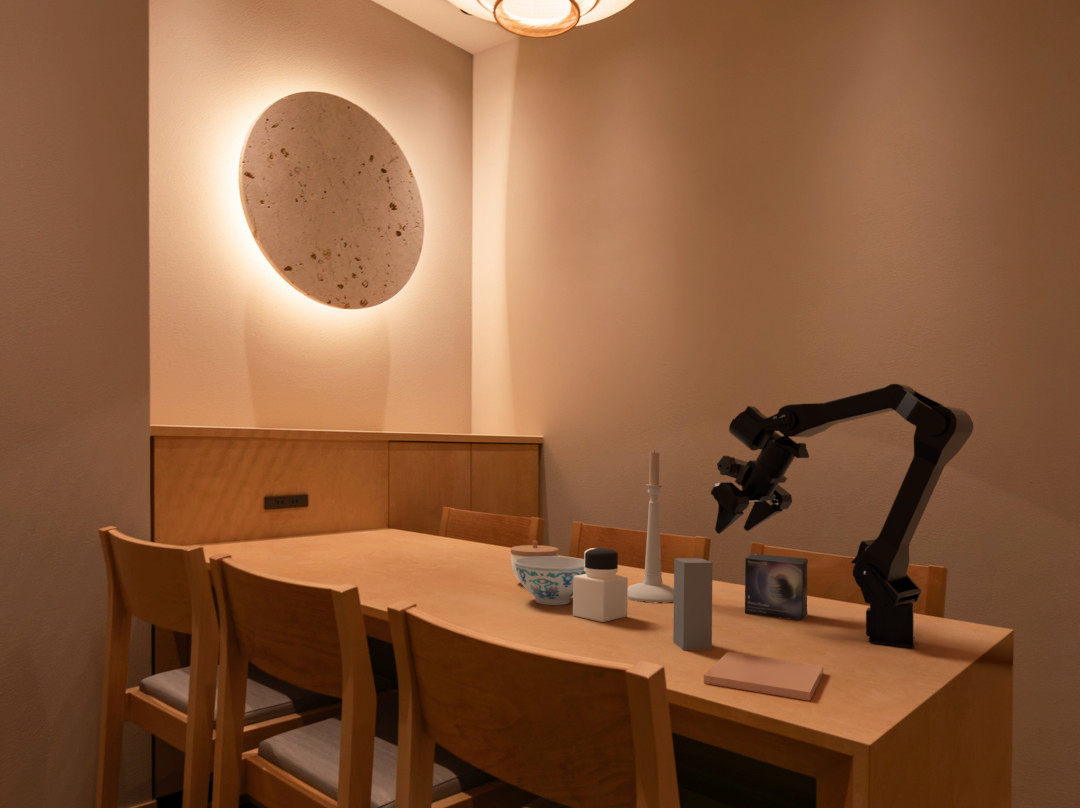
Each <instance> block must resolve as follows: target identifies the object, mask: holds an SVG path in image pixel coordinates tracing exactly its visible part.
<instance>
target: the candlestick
mask: <svg viewBox="0 0 1080 808" xmlns="http://www.w3.org/2000/svg"><path fill="white" fill-rule="evenodd" d="M645 486H646V487H647V494H648V495H649V502H648V516H647V517H648V518H647V529H646V531H647V532H646V533H647V534H646V545H645V546H646V547H645V548H646V549H645V562H644V575H643V581H642V582H638V583H633V584H631V585H628V595H627V598H628V599H627V600H629V599H632V600H631V601H633V600H637V601H636V602H639V601H645V602H644V603H648V602H673V603H674V586H672V585H670V584H666V583H663V578H662V577H663V576H662V575H663V573H662V557H661V556H662V554H661V532H660V530H661V529H660V528H661V527H660V502H659V495H660V494H661V488H662V487H663V484H660V452H656V450H654V452H649V482H648V483H647V484H645Z"/></svg>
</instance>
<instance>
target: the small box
mask: <svg viewBox="0 0 1080 808" xmlns="http://www.w3.org/2000/svg"><path fill="white" fill-rule="evenodd" d="M744 560H745V561H744V562H745V564H744V565H745V566H744V570H745V572H744V581H745V582H744V614H751V615H757V616H764V617H765V616H766V617H773V618H779V617H781V619H786V618H790V619H789V620H794V619H797V620H796V621H801V620H802V621H803V620H804V619H805V618H806V617H807V616H806V615H808V561H809V559H808V558H804V557H792V556H784V555H782V556H781V555H774V554H773V555H770V554H761V553H760V554H758V553H752V554H749V555H748V556H746V557H745V558H744Z"/></svg>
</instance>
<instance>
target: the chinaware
mask: <svg viewBox="0 0 1080 808" xmlns="http://www.w3.org/2000/svg"><path fill="white" fill-rule="evenodd" d="M515 565H516V570H517V574H518V577H519V579H520V581H521V583H522V584H521V585H522V586H523V588H525V589H526V591H527V592H528V593H530V595H532V596H533V597H535V599H534V600H535V602H536V603H537V604H541V605H545V606H546V605H547V606H562V605H567V604H569V603H570V602H571V599H570V598H573V580H574V576H576V575H582V574H586V572H585V571H584V558H579V557H571V556H559V555H558V556H536V557H525V558H520V559H517V560H516V561H515ZM520 581H519V582H520Z"/></svg>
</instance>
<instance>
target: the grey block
mask: <svg viewBox="0 0 1080 808" xmlns="http://www.w3.org/2000/svg"><path fill="white" fill-rule="evenodd" d="M673 559H674V560H673V561H674V562H673V563H674V565H673V569H674V570H673V587H674V602H673V635H672V636H673V638H672V641H673V643H674V644H675V645H676V646H677V647H679V649H681V650H683V651H702V650H703V651H704V650H706V651H707V650H710V651H711V650H713V649H712V648H713V642H712V641H713V562H712V561H709V560H707V559H704V558H701V557H700V558H699V557H698V558H695V557H692V558H690V557H689V558H687V557H686V558H685V557H684V558H683V557H681V558H680V557H679V558H678V557H676V558H673Z"/></svg>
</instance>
